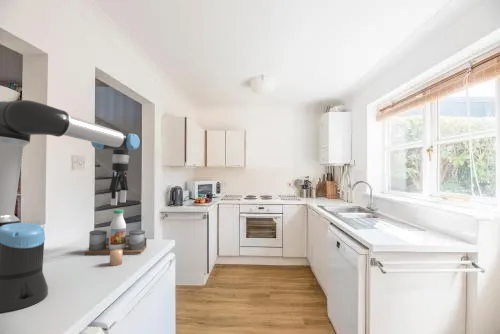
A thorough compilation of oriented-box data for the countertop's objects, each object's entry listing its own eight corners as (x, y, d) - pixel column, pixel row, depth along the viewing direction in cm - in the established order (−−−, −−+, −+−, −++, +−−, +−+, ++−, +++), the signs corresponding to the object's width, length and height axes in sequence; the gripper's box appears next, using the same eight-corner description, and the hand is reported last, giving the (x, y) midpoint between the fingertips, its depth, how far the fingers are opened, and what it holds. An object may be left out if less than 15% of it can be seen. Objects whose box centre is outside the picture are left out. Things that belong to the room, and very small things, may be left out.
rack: (141, 254, 132) (141, 234, 133) (83, 255, 128) (84, 234, 129) (147, 247, 145) (148, 228, 145) (95, 247, 141) (96, 228, 141)
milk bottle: (105, 249, 134) (106, 210, 134) (116, 246, 141) (118, 208, 142) (117, 251, 131) (119, 211, 132) (128, 247, 139) (130, 209, 139)
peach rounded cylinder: (119, 265, 116) (120, 252, 116) (107, 266, 115) (108, 252, 115) (123, 262, 121) (124, 248, 121) (111, 262, 120) (112, 249, 120)
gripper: (119, 162, 126) (117, 206, 125) (134, 164, 150) (133, 201, 150) (103, 161, 125) (100, 206, 124) (121, 163, 149) (119, 201, 149)
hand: (118, 203), depth 137 cm, fingers open, 13 cm apart
